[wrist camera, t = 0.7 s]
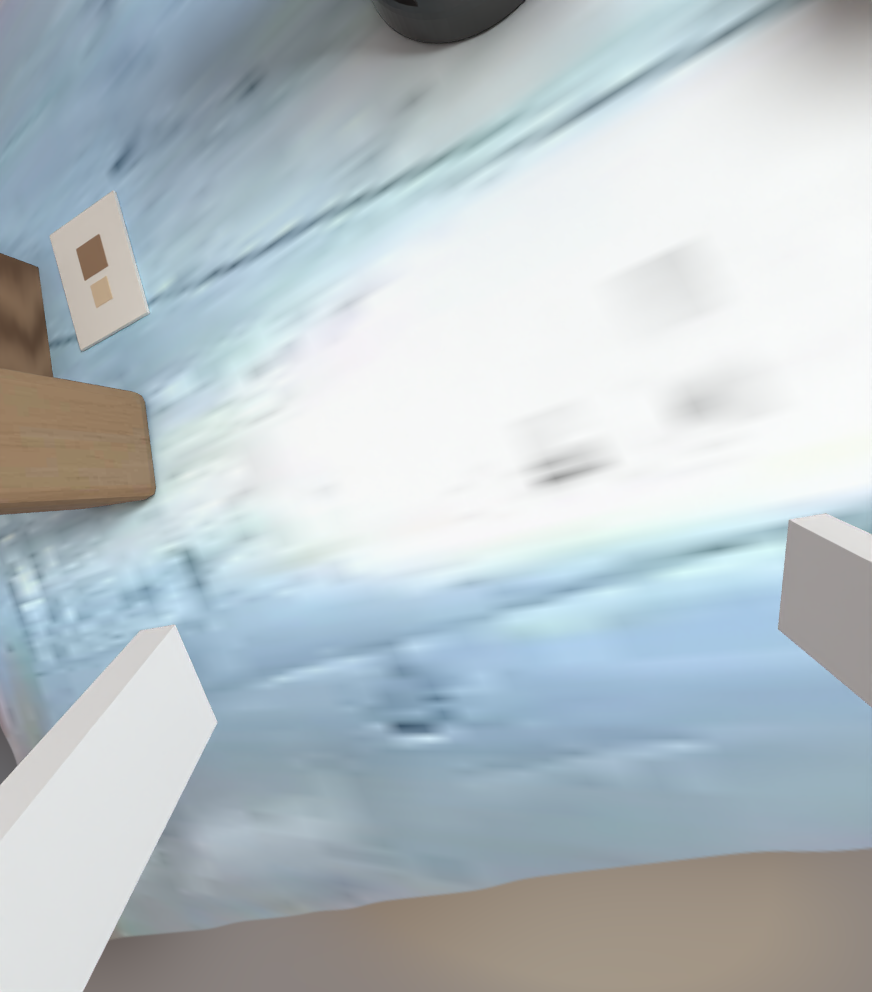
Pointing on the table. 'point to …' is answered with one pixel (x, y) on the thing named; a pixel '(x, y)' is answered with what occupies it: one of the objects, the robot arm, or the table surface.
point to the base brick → (22, 319)
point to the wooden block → (70, 445)
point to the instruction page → (99, 272)
